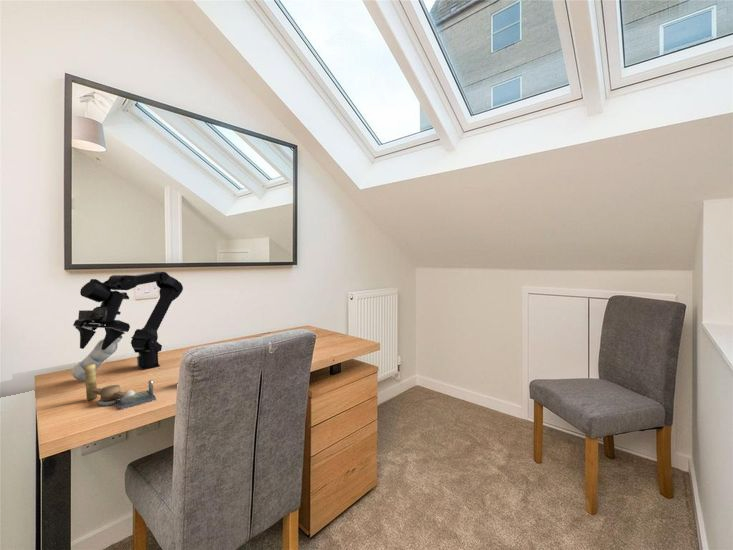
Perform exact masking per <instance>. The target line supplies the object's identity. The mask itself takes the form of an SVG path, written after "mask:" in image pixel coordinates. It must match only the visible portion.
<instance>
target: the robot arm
mask: <svg viewBox="0 0 733 550" xmlns="http://www.w3.org/2000/svg"><path fill="white" fill-rule="evenodd" d="M151 283H155V284H156V286H157V287H158V289H159V292H158V293H159V299H158V301H157V302H156V304H155V305H154V308H153V309H152V312H151V314H150V316H149V318H148V320H147V321H146V323H145V325H144V326H143V327H142V328H141V329H140V328H136V330H135V331H134V333H133V335H132V336H131V337H130V338H131V341H130V344H131V347H132V349H133V351H134V353H138V356H136V362H137V367H138V368H139V369H140V368H141V369H140V370H142V369H143V370H146V369H147V368H148V369H152V368H156V367H160V366H161V365H160V363H159V352H161V351H162V347H163V345H162V343H159V342H158V339H159V338H158V337H159V335H158V330H159V328H160V326H161V324H162V322H163V320H164V318H165V316H166V314H167V312H168V311H169V308H170V306H171V304H172V302H173V301H175V300H176V299H177V298H179V297H180V295H181V294H182V293H183V290H184V286H183V284H182V283H181V282H180V281H179V280H178V279H177V278H176V277H175V278H174V277H173V276H171V275H169V274H168V273H167V272H166V271H154V272H150V273H143V274H142V273H141V274H136V275H135V274H133V275H129V274H113V275H111V276H109V278H108V279H107V280H105V281H104V282H103V281H102V282H101V281H100V280H99V279H96V278H91V279H90V280H89V282H87V283H85V284H84V285H83V286H82V287H81V288H80V290H79V291H80V296H81V297H83V298H85V299H89V300H92V301H94V302H96V303H100V306H96V307H94V308H93V309H92V310H91V309H90V310H88V309H87V310H78V318H77V319H76V320H75V321H74V323H73V325H72V326H73V327H75V329H76V330H77V332H79V349H82V350H83V349H85V348H86V347H87V345H88V344H89V342H90V341H91V340H92V339H93V337H94V335H95V334H96V333H97V331H96V330H97V329H99V328H100V329H104V331H105V336H104V338H103V339H104V341H103V344H102V348H101V350H105V349H106V348H107V347H108V346H110V345H111V344H112V343H113V342H114V341H115V340H116V339H117V338H119V337H120V336H121V335H122V336H123V335H125V333H128V332H130V331H129V330H130V328H131V326H130V323H127V322H125V321H123V320H120V319H116V317H117V315H118V316H119V315H121V311H119V310H120V308H121V305H122V302H123V300H130V296H129V295H128V293H127V292H124V291H129V290H133V289H134V288H136V287H138V286H140V285H145V284H151ZM121 291H123V292H121ZM148 369H147V370H148Z"/></svg>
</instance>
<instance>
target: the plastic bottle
mask: <svg viewBox="0 0 733 550" xmlns="http://www.w3.org/2000/svg"><path fill="white" fill-rule="evenodd" d="M122 339H123V334H122V335H121V336H120V337H119V338H117V339H116V340H115V341H114V342H113V343H112V344H111V345H110V346H108V347H107V348H106V349H105V350H101V348H102V344H103V341H104V338H102V339H101V340H99V341H97V343H96V345H95V346H94V348H93V349H92V350H91V351H90V353H88V355H86V356H85V358H84V359H82V360H81V361H80V362H78V363H77V364H76V365H75V366H74V367H73V369H72V370H71V376H72V377H73V378H74V379H76V380H77V381H81V382H82V381H83V382H84V381H86V378H85V366H86V365H90V364H95V367H96V371H97V369H99V368H100V366H101V365H102V363H103V362H105V361H106V360H107V359H108V358H110V357H111V356H112V355H113V354H114V353H116V351H117V350H118V345H119V344H118V343H120V342H121V340H122Z"/></svg>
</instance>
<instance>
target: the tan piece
mask: <svg viewBox="0 0 733 550" xmlns="http://www.w3.org/2000/svg"><path fill="white" fill-rule="evenodd" d="M85 378H86V380H85V390H86V391H85V393H86V400H95V399H97V398H98V396H100V399H101V400H102V401H108V400H113V399H116V398H119V397H124V399H126V400H131V399H132V398H134V396H135V393H136V391H134V390H133V389H127V390H125V391H121V385H119V384H114V385H107V386H104V387H102V388H99V387H97V370H96V367H95V364H90V365H86V366H85Z"/></svg>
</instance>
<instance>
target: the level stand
mask: <svg viewBox="0 0 733 550" xmlns="http://www.w3.org/2000/svg"><path fill="white" fill-rule="evenodd" d="M153 381H154V380H148V381H147V383H148V390H141V391H138V392H135V396H134V398H132V399H131V400H126V399H124V397H119V398H116V399H113V400H108V401H102V400H101V398H100V399H99V400H97V405H98V406H100V407H109V406H114V405H116V406H117V407H118V408H119V409H120V410H125V409H129V408H131V407H132V408H133V407H134V406H135V405H136V406H139V405H143V404H146V402H147V403H150V402H153V401H152V400H154V401H156V400H157V397H156V396H155V394H154V382H153ZM149 401H150V402H149ZM142 403H143V404H142ZM128 407H129V408H128ZM124 408H125V409H124Z"/></svg>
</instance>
